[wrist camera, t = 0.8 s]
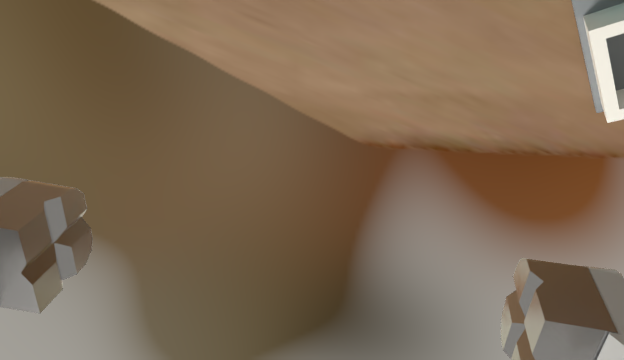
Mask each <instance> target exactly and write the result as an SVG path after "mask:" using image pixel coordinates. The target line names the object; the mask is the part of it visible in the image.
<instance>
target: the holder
mask: <svg viewBox="0 0 624 360" xmlns="http://www.w3.org/2000/svg"><path fill="white" fill-rule="evenodd" d="M572 5H573V9H574V14H575V19H576V23H577V28H578V32H579V37H580V41H581V46H582V51H583V55H584V60H585V64H586V69H587V73H588V78H589V83H590V87H591V92H592V96H593V101H594V106H595V109H596V113H599V112H603V111H604V114H605V117H606V120H607V123H609V122H613V121H618V120H622V119H624V0H572Z"/></svg>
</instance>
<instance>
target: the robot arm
mask: <svg viewBox="0 0 624 360" xmlns="http://www.w3.org/2000/svg"><path fill="white" fill-rule="evenodd" d="M86 210H87V206H86V202H85V197H84V194H83V193H82V192H81V191H79V190H78V189H76V188H71V187H66V186H60V185H54V184H48V183H43V182H37V181H29V180H26V179H20V178H13V177H0V307H3V308H9V309H15V310H22V311H27V312H34V313H41V312H42V311H43V310H44V309H45V308H46V307H47V306H48V304H49V303H50V302H51V301H52V300H53V299H54V298H55V297H56V296H57V295H58V294H59V293H60V292H61V291H62V289H63V283H62V280H64V279H67V278H69V277H71V276H74V275H76V274H77V273H78V272H79V271H80V270H81V269H82V268H83V267H84V266H85V264H86V262H87V260H88V258H89V255H90V253H91V250H92V233H91V228H90V227H89V225H88V224H87V223H86V222H85V221H84V219H83V218H82V216H83V214H84V213H85V211H86ZM513 279H514V283H515V287H516V291H514V292H513V293H511V294H510V295H508V296H507V297H506V301H505V304H504V308H503V311H502V320H501V341H502V347H503V351H504V352H505V353H506V354H507V355H508V356H509V357H510V358H511V360H624V278H623V276H622V274H621V273H619V272H618V271H616V270H612V269H603V268H595V267H587V266H576V265H568V264H561V263H553V262H546V261H539V260H532V259H525V258H521V259H520V261H519V262H518V264H517V266H516V269H515V273H514V276H513Z"/></svg>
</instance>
